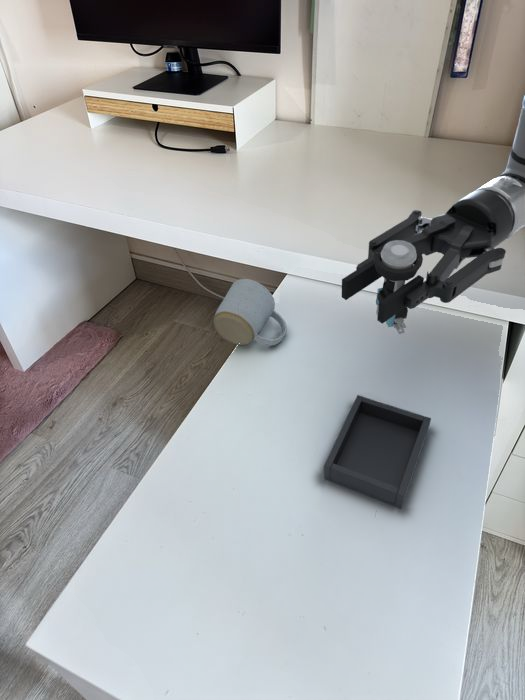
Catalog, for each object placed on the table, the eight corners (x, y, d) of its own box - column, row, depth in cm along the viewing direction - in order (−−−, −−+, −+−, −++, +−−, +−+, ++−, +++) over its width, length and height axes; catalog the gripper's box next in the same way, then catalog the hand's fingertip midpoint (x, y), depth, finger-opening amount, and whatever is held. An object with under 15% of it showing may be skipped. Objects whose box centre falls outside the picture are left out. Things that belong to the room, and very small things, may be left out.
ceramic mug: (213, 342, 80) (205, 306, 74) (235, 309, 85) (229, 273, 79) (275, 358, 77) (272, 322, 71) (294, 322, 82) (292, 286, 76)
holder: (427, 431, 65) (431, 418, 63) (401, 509, 58) (404, 496, 56) (356, 408, 69) (357, 394, 66) (324, 478, 62) (323, 466, 60)
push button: (421, 332, 61) (437, 268, 53) (379, 341, 60) (389, 277, 53) (400, 296, 65) (412, 231, 58) (361, 303, 65) (368, 240, 57)
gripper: (435, 167, 68) (306, 241, 59) (564, 216, 57) (431, 315, 49) (427, 216, 73) (309, 290, 65) (544, 269, 63) (421, 366, 54)
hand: (362, 300), depth 57 cm, fingers closed on push button, 5 cm apart
